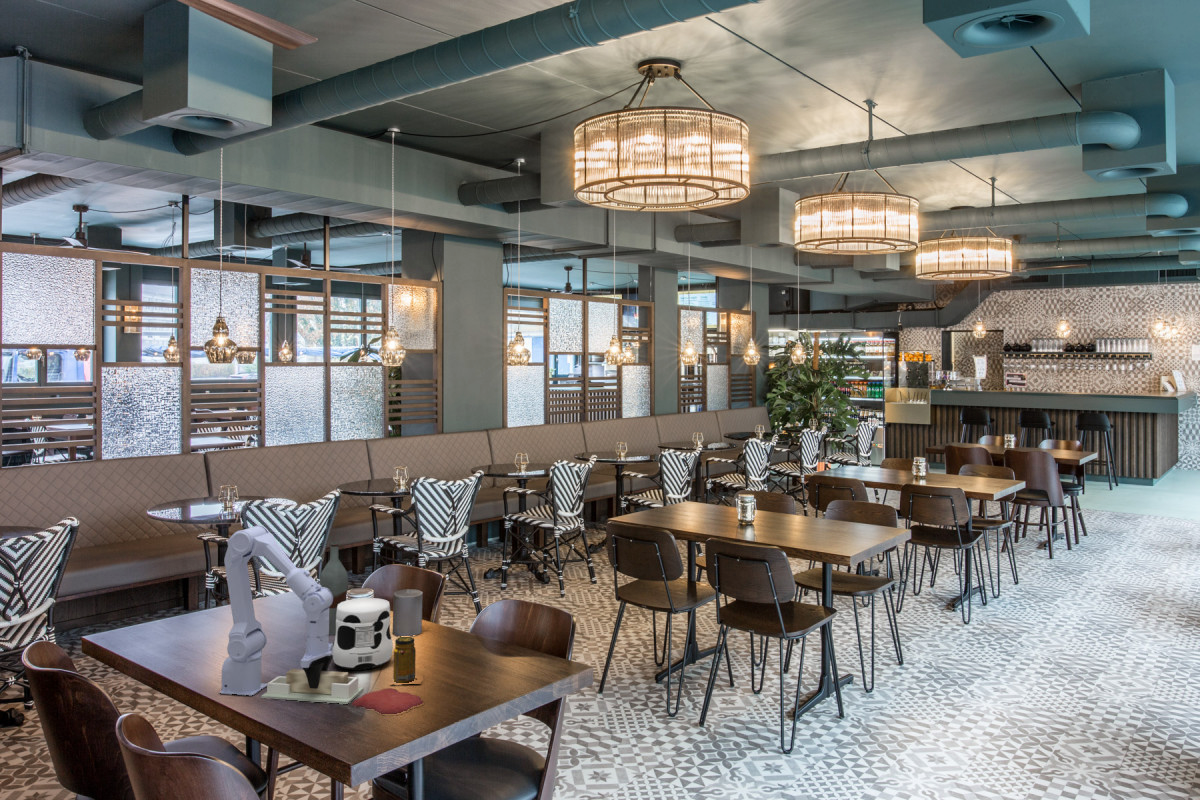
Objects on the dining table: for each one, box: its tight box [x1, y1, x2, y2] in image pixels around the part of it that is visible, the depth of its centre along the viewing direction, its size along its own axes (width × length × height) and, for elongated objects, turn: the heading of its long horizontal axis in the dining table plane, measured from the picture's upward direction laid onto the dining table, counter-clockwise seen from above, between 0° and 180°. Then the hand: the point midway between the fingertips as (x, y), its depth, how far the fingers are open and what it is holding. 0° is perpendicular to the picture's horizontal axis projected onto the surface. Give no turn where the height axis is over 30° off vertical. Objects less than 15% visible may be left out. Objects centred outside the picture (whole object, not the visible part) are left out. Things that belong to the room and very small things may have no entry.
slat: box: [285, 668, 349, 694], centre depth 214 cm, size 16×3×5 cm, turn 83°
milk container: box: [332, 597, 394, 671], centre depth 238 cm, size 17×17×18 cm
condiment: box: [392, 636, 417, 683], centre depth 225 cm, size 7×8×12 cm
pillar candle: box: [392, 588, 424, 637], centre depth 270 cm, size 10×10×15 cm
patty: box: [351, 687, 424, 714], centre depth 209 cm, size 18×14×2 cm
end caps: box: [266, 675, 359, 699], centre depth 214 cm, size 23×6×4 cm, turn 83°
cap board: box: [260, 686, 365, 705], centre depth 214 cm, size 24×10×1 cm, turn 83°
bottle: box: [318, 542, 349, 636], centre depth 270 cm, size 9×9×30 cm
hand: (316, 685), depth 214 cm, fingers closed on slat, 3 cm apart
